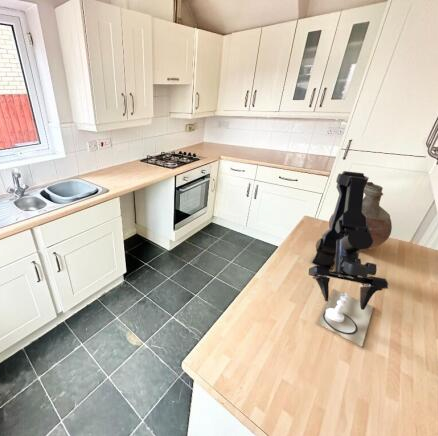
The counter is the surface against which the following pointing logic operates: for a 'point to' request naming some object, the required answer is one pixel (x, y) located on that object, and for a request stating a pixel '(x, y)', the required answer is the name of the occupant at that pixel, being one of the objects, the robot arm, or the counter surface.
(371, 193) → the jug
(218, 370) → the counter surface
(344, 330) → the grey plate with ring
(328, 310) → the chess piece
